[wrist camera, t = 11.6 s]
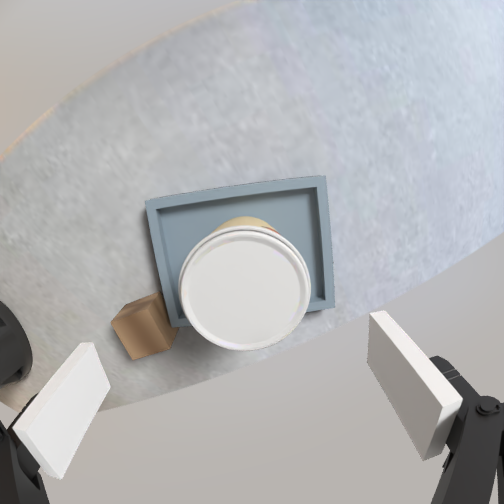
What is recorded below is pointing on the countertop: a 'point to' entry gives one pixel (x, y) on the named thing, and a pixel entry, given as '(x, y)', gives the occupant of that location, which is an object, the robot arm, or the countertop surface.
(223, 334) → the coffee cup
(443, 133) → the countertop surface
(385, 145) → the countertop surface
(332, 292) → the collection tray
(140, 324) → the walnut block
